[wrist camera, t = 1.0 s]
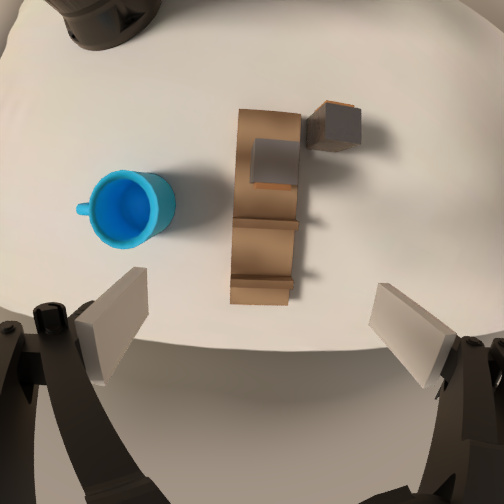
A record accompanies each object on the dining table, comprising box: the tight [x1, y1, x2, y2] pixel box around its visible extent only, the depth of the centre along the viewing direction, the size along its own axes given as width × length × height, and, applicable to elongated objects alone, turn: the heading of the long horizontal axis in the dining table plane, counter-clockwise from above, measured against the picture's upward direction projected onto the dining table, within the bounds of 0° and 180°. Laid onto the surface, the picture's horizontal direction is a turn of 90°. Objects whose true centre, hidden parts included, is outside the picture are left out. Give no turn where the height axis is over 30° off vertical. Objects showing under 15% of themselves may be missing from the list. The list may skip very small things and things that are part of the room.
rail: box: [230, 109, 301, 306], centre depth 30 cm, size 24×7×10 cm, turn 177°
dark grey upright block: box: [306, 100, 361, 152], centre depth 30 cm, size 5×4×8 cm
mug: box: [76, 170, 176, 249], centre depth 30 cm, size 12×8×8 cm
